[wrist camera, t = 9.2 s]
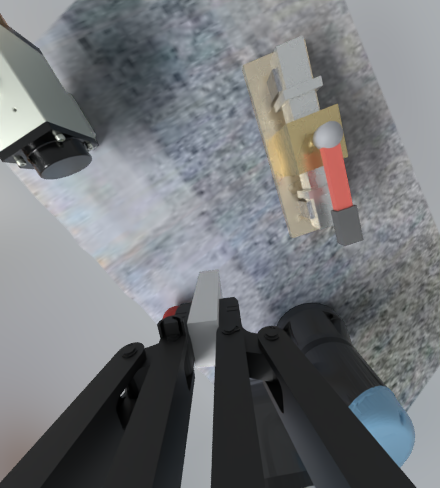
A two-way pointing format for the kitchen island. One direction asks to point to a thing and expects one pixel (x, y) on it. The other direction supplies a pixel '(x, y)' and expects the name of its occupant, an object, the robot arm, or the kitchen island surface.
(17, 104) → the ball valve
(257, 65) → the valve pipe
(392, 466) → the robot arm
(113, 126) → the kitchen island surface
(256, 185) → the kitchen island surface
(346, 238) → the lever
